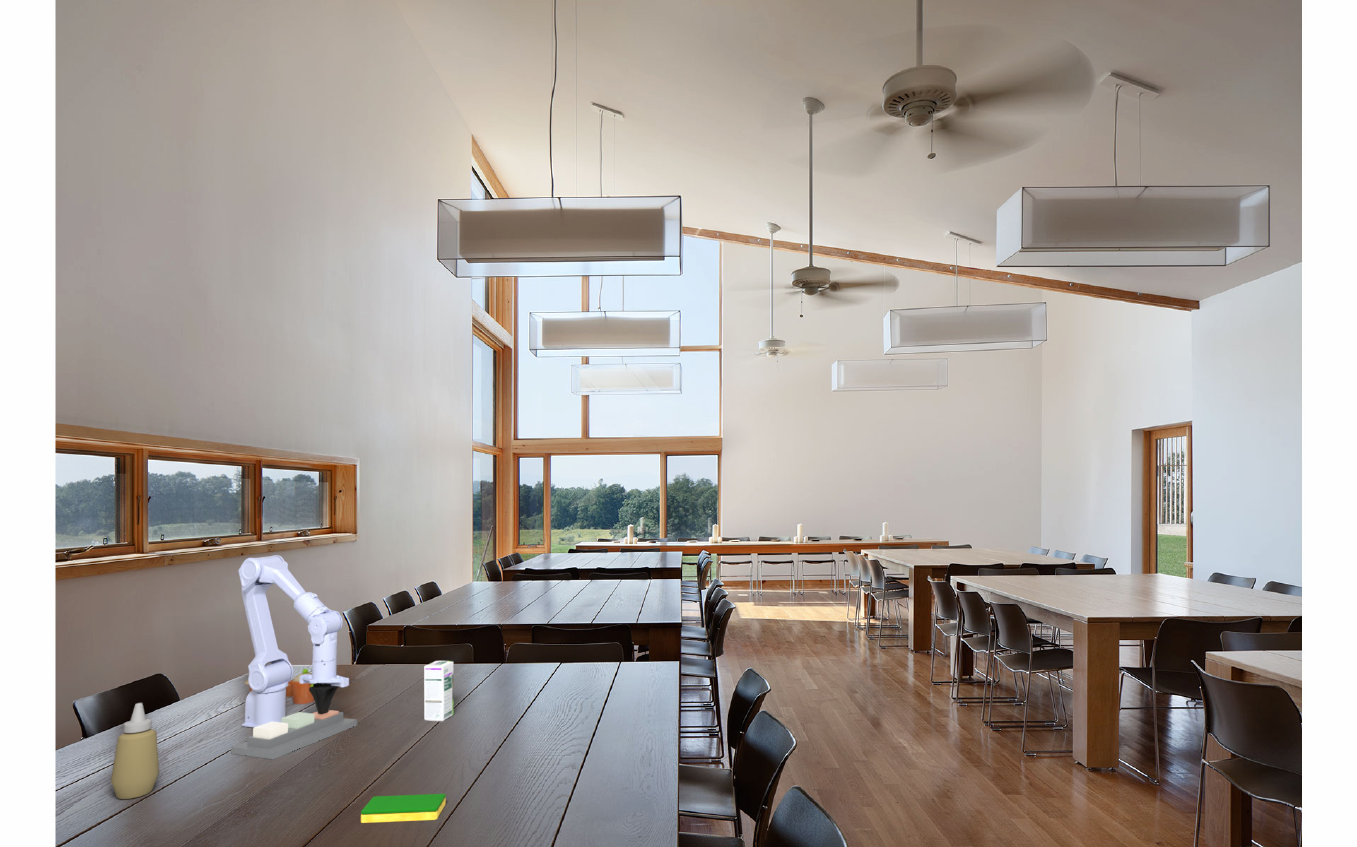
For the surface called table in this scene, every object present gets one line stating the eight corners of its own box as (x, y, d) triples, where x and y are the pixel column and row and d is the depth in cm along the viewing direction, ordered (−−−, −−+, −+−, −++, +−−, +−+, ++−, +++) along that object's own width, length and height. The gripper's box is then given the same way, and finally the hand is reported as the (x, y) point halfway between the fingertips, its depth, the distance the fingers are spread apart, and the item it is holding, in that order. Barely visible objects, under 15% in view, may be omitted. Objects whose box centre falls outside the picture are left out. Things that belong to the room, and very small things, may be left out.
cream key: (252, 738, 177) (253, 727, 178) (271, 731, 182) (271, 721, 182) (269, 740, 176) (269, 729, 176) (287, 733, 180) (288, 723, 181)
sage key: (281, 728, 185) (281, 717, 185) (298, 722, 190) (298, 711, 190) (297, 730, 183) (297, 719, 183) (314, 723, 188) (314, 713, 188)
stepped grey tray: (231, 753, 176) (231, 737, 176) (318, 720, 201) (318, 707, 201) (273, 759, 172) (273, 743, 172) (357, 725, 196) (357, 711, 196)
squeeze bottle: (126, 787, 156) (130, 698, 158) (167, 785, 157) (171, 697, 159) (99, 803, 148) (104, 709, 150) (143, 801, 149) (147, 708, 151)
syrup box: (443, 721, 198) (444, 665, 200) (423, 720, 200) (423, 664, 201) (454, 715, 204) (454, 660, 205) (434, 714, 205) (434, 659, 206)
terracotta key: (307, 724, 192) (307, 714, 192) (322, 718, 197) (323, 709, 197) (322, 726, 190) (323, 716, 191) (338, 720, 195) (338, 710, 196)
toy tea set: (340, 691, 232) (341, 659, 233) (319, 705, 217) (320, 671, 217) (253, 693, 231) (255, 661, 231) (226, 708, 215) (227, 673, 216)
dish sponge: (436, 821, 139) (436, 808, 139) (360, 825, 138) (360, 811, 138) (446, 805, 146) (446, 792, 146) (373, 808, 145) (373, 795, 145)
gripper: (290, 661, 194) (289, 715, 193) (334, 664, 189) (333, 720, 188) (312, 655, 200) (311, 707, 199) (355, 658, 196) (354, 712, 194)
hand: (323, 713), depth 194 cm, fingers closed, pressing on terracotta key
